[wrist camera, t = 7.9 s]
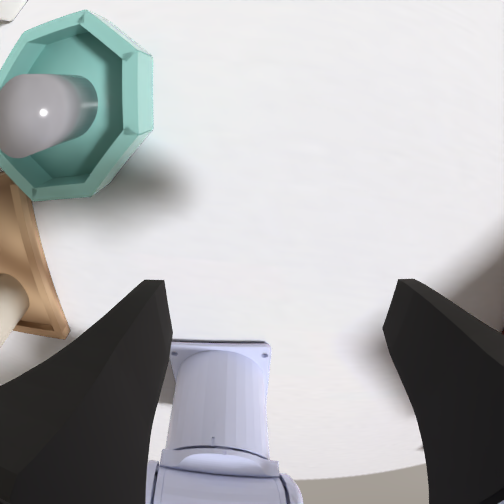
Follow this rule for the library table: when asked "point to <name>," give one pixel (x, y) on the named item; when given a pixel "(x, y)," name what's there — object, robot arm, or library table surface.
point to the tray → (28, 263)
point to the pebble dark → (44, 112)
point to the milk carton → (10, 9)
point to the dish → (109, 104)
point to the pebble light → (11, 304)
